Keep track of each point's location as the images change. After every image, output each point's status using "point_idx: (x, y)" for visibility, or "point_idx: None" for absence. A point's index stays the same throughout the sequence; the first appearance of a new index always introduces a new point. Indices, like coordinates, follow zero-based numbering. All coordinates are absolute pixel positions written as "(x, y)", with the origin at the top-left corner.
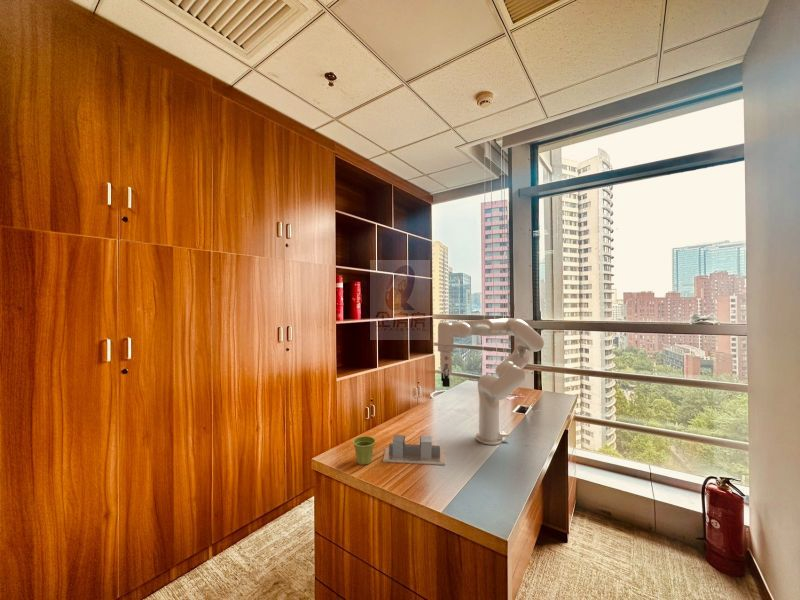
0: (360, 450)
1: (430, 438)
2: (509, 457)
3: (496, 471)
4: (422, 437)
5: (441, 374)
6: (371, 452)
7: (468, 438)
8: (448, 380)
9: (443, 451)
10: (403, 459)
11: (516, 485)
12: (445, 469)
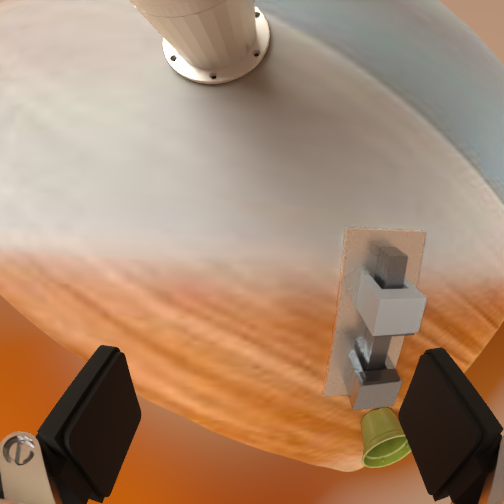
0: (403, 442)
1: (398, 301)
2: (356, 11)
3: (443, 84)
4: (387, 330)
5: (108, 487)
6: (396, 422)
7: (212, 112)
8: (475, 415)
9: (357, 231)
10: (396, 349)
11: (486, 68)
12: (441, 232)
